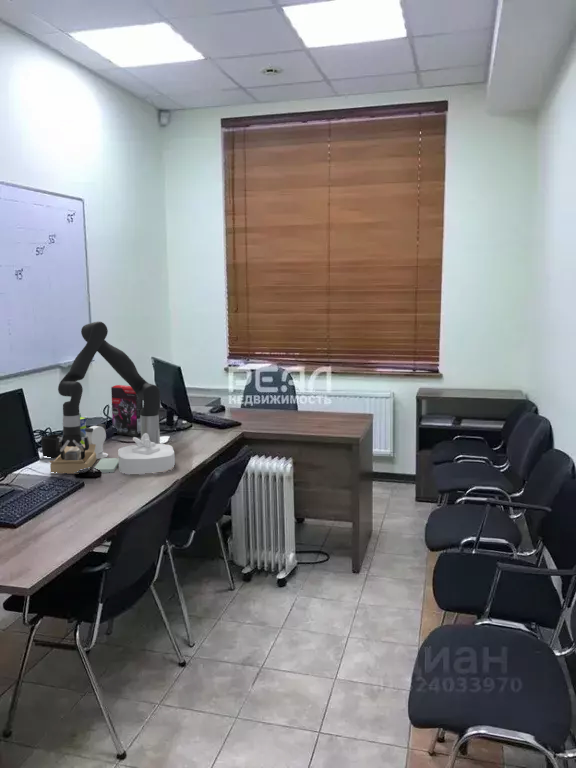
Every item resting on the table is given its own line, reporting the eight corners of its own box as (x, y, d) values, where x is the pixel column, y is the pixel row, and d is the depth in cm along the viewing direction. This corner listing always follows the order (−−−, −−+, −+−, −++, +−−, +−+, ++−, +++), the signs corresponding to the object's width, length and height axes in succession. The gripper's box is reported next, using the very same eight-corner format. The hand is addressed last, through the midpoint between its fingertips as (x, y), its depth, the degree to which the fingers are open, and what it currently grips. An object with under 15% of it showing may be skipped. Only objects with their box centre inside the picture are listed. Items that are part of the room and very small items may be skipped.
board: (120, 461, 299) (120, 458, 299) (113, 472, 282) (113, 469, 282) (101, 461, 299) (101, 458, 298) (93, 472, 281) (93, 469, 281)
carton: (98, 458, 303) (98, 444, 302) (84, 476, 276) (84, 460, 275) (64, 458, 302) (63, 444, 301) (47, 476, 274) (46, 460, 273)
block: (82, 463, 296) (81, 446, 294) (75, 471, 283) (74, 454, 282) (72, 463, 295) (72, 446, 294) (65, 471, 282) (64, 454, 281)
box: (71, 451, 316) (70, 417, 314) (65, 450, 318) (64, 416, 316) (87, 446, 325) (86, 413, 323) (82, 445, 327) (80, 412, 325)
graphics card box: (111, 434, 352) (110, 386, 348) (119, 431, 358) (117, 384, 354) (137, 437, 346) (135, 388, 341) (144, 434, 352) (143, 386, 348)
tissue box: (119, 476, 277) (118, 440, 274) (118, 461, 301) (117, 428, 298) (176, 472, 284) (176, 437, 281) (170, 457, 308) (170, 425, 305)
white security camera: (94, 451, 316) (93, 422, 313) (113, 454, 312) (112, 424, 309) (79, 457, 305) (77, 427, 302) (98, 460, 301) (97, 429, 298)
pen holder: (60, 458, 303) (59, 438, 301) (40, 459, 301) (39, 439, 299) (64, 453, 312) (63, 433, 310) (44, 454, 310) (43, 434, 309)
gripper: (89, 422, 290) (90, 456, 292) (57, 422, 288) (59, 457, 291) (85, 426, 282) (86, 461, 285) (53, 426, 281) (54, 461, 284)
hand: (73, 459), depth 288 cm, fingers open, 8 cm apart
